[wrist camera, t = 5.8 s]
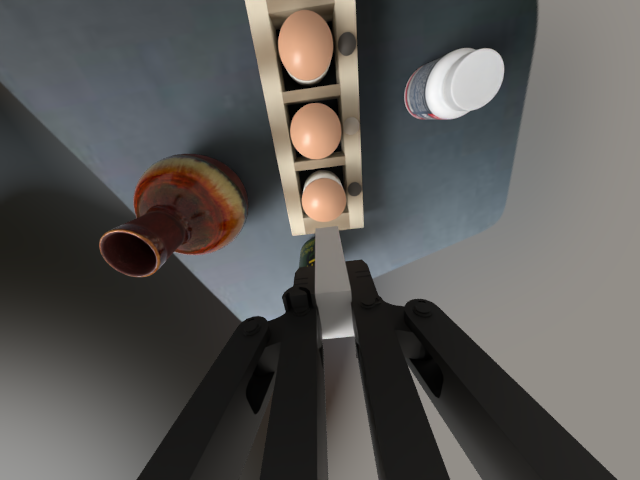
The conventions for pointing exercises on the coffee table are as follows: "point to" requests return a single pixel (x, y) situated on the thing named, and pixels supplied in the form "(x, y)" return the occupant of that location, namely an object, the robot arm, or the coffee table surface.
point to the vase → (178, 214)
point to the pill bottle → (454, 84)
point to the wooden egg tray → (265, 18)
